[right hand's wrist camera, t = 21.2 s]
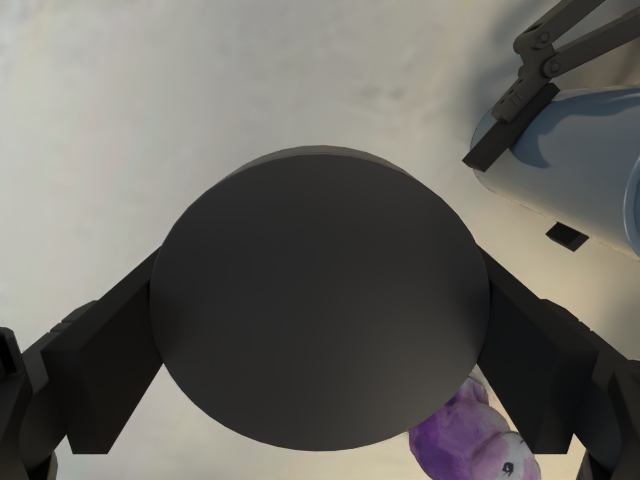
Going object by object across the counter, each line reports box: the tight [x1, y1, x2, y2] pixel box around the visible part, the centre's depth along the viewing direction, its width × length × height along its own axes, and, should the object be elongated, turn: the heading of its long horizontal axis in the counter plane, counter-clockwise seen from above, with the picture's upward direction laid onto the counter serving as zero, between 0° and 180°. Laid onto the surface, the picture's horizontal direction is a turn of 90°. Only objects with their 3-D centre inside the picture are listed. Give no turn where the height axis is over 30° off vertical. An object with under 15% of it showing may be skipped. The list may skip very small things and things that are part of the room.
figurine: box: [409, 377, 541, 480], centre depth 33 cm, size 9×10×15 cm
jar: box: [471, 84, 640, 261], centre depth 22 cm, size 9×9×19 cm
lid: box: [149, 145, 490, 451], centre depth 11 cm, size 9×9×2 cm
